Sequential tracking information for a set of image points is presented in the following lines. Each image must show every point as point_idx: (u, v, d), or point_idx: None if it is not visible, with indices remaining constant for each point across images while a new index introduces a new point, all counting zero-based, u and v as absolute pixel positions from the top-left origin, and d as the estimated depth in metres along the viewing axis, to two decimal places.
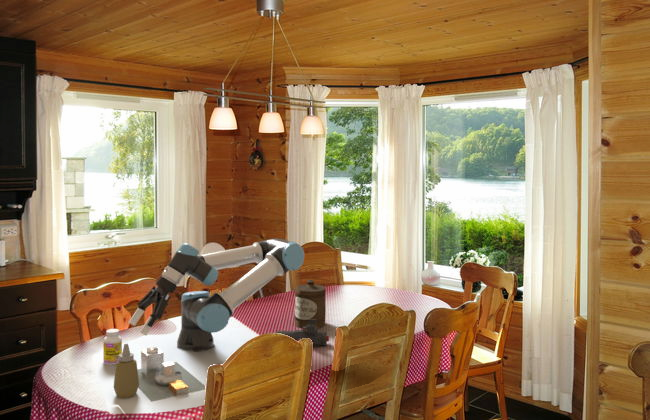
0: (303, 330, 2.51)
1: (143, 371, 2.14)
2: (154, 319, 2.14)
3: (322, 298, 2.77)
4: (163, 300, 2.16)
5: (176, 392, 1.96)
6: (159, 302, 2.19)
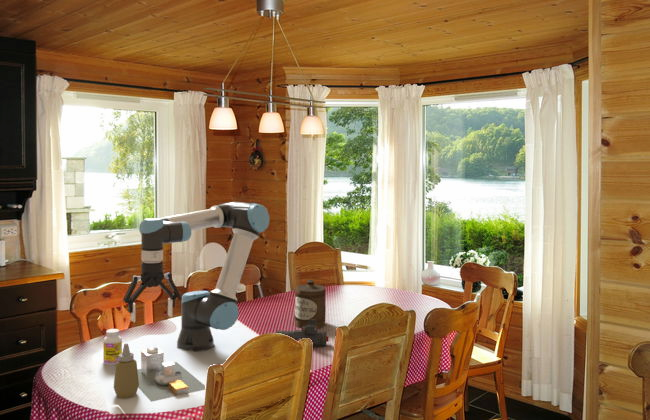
0: (303, 330, 2.51)
1: (143, 371, 2.14)
2: None
3: (322, 298, 2.77)
4: None
5: (176, 392, 1.96)
6: (163, 284, 2.14)
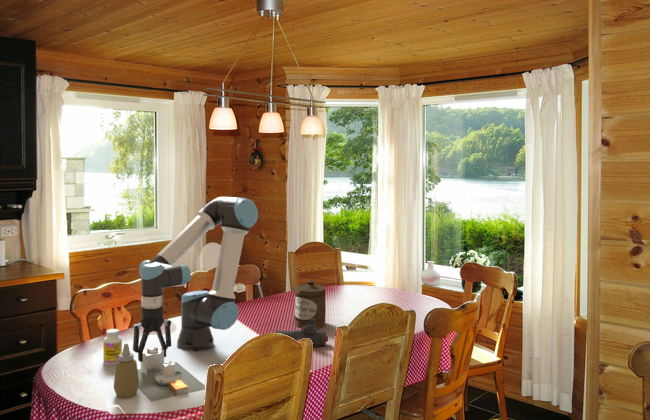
0: (302, 330, 2.51)
1: (143, 371, 2.14)
2: None
3: (322, 298, 2.77)
4: None
5: (176, 392, 1.96)
6: None
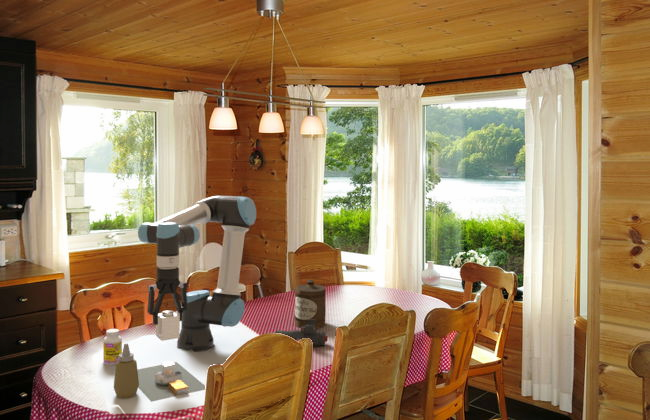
0: (302, 330, 2.51)
1: (158, 335, 2.04)
2: None
3: (322, 298, 2.77)
4: None
5: (176, 392, 1.96)
6: None
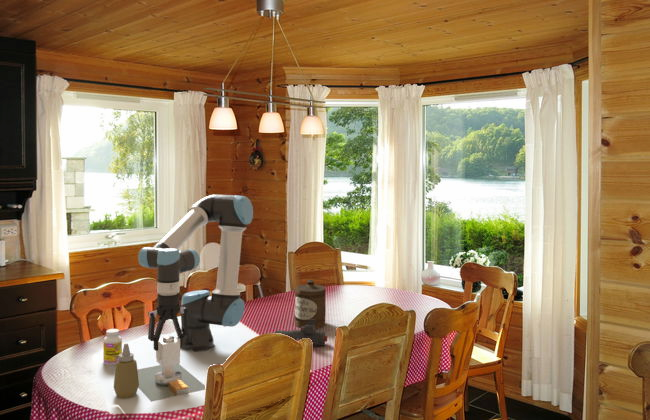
0: (301, 330, 2.51)
1: (158, 361, 2.05)
2: None
3: (322, 298, 2.77)
4: None
5: (176, 392, 1.96)
6: None
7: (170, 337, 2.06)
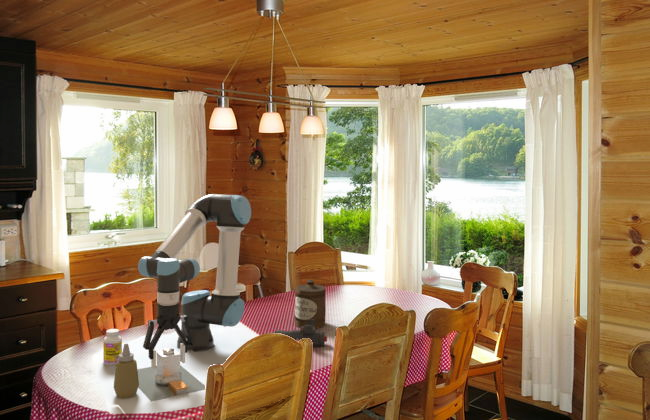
0: (301, 330, 2.51)
1: (159, 373, 2.06)
2: None
3: (322, 298, 2.77)
4: None
5: (176, 392, 1.96)
6: None
7: (170, 349, 2.06)
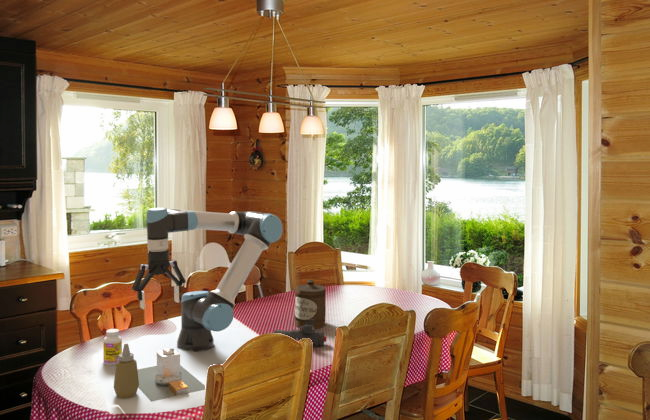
0: (300, 330, 2.51)
1: (159, 373, 2.06)
2: None
3: (322, 298, 2.77)
4: None
5: (176, 392, 1.96)
6: None
7: (170, 349, 2.06)
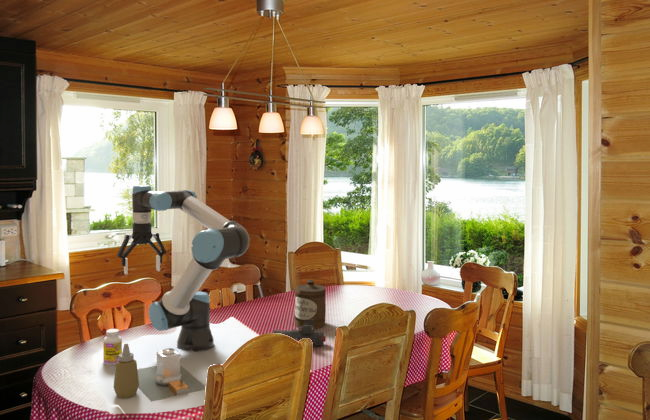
0: (300, 330, 2.51)
1: (159, 373, 2.06)
2: None
3: (322, 298, 2.77)
4: None
5: (176, 392, 1.96)
6: None
7: (170, 349, 2.06)
